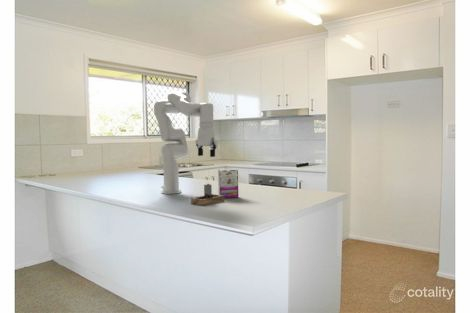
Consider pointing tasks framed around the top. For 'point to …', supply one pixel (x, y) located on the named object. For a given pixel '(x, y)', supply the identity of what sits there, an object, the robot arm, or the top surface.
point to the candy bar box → (228, 183)
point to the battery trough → (207, 200)
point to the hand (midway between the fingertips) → (206, 156)
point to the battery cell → (207, 191)
